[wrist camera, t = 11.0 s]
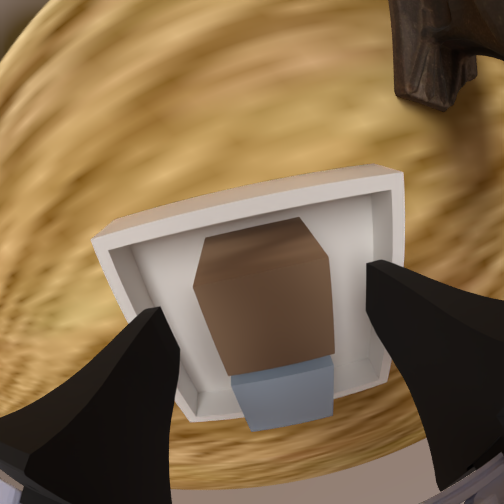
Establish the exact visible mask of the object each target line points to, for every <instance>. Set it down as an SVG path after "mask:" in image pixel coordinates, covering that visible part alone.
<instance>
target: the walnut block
mask: <svg viewBox="0 0 504 504" xmlns="http://www.w3.org/2000/svg"><path fill="white" fill-rule="evenodd" d="M193 290H194V292H195V295H196V298H197V300H198V303H199V306H200V308H201V311H202V314H203V316H204V319H205V321H206V324H207V326H208V329H209V331H210V334H211V336H212V339H213V341H214V344H215V346H216V349H217V351H218V353H219V356H220V358H221V361H222V363H223V365H224V368H225V370H226V372H227V375H228V376H233V375H239V374H245V373H251V372H257V371H262V370H267V369H272V368H277V367H282V366H286V365H291V364H295V363H300V362H304V361H308V360H312V359H316V358H320V357H324V356H328V355H331V354H335V339H334V318H333V301H332V287H331V275H330V264H329V257H328V255H327V254H326V252H325V251H324V250H323V248H322V247H321V245H320V244H319V243H318V241H317V240H316V239H315V237H314V236H313V235H312V233H311V232H310V230H309V229H308V228H307V226H306V225H305V224H304V222H303V221H302V220H301V218H300V217H295V218H291V219H286V220H281V221H277V222H272V223H268V224H263V225H258V226H254V227H249V228H245V229H241V230H236V231H232V232H227V233H223V234H219V235H214V236H210V237H206V238H205V240H204V244H203V248H202V252H201V255H200V259H199V263H198V267H197V271H196V275H195V279H194V283H193Z"/></svg>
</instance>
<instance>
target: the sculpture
mask: <svg viewBox="0 0 504 504" xmlns="http://www.w3.org/2000/svg"><path fill="white" fill-rule="evenodd" d="M388 1H389V9H390V18H391V28H392V41H393V64H394V91H395V94H396V96H399V97H401V98H404V99H407V100H411V101H414V102H417V103H420V104H423V105H426V106H429V107H431V108H434V109H437V110H440V111H442V112H445V111H446V110H447V108H449V107H450V106H452V105H453V104H454V102H455V100H456V96H457V93H458V92H459V90H460V89H461V88H462V87H463V86H464V85H465V83H466V82H467V81H471V80H473V79H475V78H476V76H477V63H476V55H483V56H489V57H494V58H497V59H500V60H503V61H504V0H388Z"/></svg>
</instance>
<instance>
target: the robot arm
mask: <svg viewBox="0 0 504 504" xmlns="http://www.w3.org/2000/svg"><path fill="white" fill-rule="evenodd" d="M365 311H366V313H367V315H368V317H369V320H370V322H371V324H372V326H373V328H374V330H375V332H376V334H377V336H378V337H379V339H380V341H381V342H382V344H383V345H384V347H385V349H386V350H387V352H388V354H389V355H390V357H391V358H392V360H393V362H394V363H395V365H396V366H397V368H398V370H399V371H400V373H401V375H402V376H403V378H404V380H405V382H406V384H407V386H408V388H409V390H410V393H411V395H412V397H413V400H414V402H415V405H416V407H417V410H418V413H419V415H420V418H421V421H422V424H423V427H424V430H425V433H426V437H427V440H428V443H429V447H430V451H431V456H432V460H433V465H434V470H435V476H436V483H437V485H438V488H439V490H440V491H443V490H444V491H443V492H441V493H439V494H437V495H435V496H433V497H431V498H430V499H428V500H426V501H424V502H422V503H419V504H460V503H462V502H464V501H465V500H466V501H465V502H464V504H504V300H498V299H493V298H489V297H484V296H481V295H477V294H474V293H470V292H466V291H463V290H460V289H457V288H454V287H452V286H449V285H446V284H443V283H441V282H438V281H436V280H433V279H431V278H428V277H426V276H423V275H421V274H418V273H416V272H414V271H411V270H409V269H406V268H404V267H402V266H399V265H397V264H394V263H391V262H389V261H386V260H382V259H381V260H377V261H373V262H369V263H366V310H365ZM179 369H180V347H179V345H178V343H177V341H176V339H175V337H174V335H173V333H172V331H171V328H170V326H169V324H168V322H167V320H166V318H165V315H164V313H163V311H162V309H161V306H159V307H153V308H147V309H144V310H143V311H142V312H141V313H140V314H138V315H137V316H136V317H135V318H134V319H133V320H132V321H131V322H130V323H129V324H128V325H127V326H126V327H125V328H124V329H123V330H122V331H121V332H120V333H119V334H118V335H117V336H116V337H115V338H114V339H113V340H112V341H111V342H110V343H109V344H108V345H107V346H106V347H105V348H104V349H103V350H102V351H101V352H99V353H98V354H97V355H96V356H95V357H94V358H93V359H92V360H91V361H90V362H89V363H88V364H87V365H86V366H84V367H83V368H82V369H81V370H80V371H78V372H77V373H76V374H75V375H73V376H72V377H71V378H70V379H68V380H67V381H66V382H64V383H63V384H61V385H60V386H59V387H57V388H56V389H54V390H53V391H51V392H50V393H48V394H47V395H45V396H44V397H42V398H40V399H39V400H37V401H35V402H33V403H31V404H30V405H28V406H26V407H24V408H22V409H20V410H18V411H15V412H13V413H11V414H8V415H6V416H3V417H1V418H0V469H1V470H2V471H4V472H5V473H6V474H8V475H9V476H10V477H12V478H13V479H14V480H16V481H17V482H19V483H20V484H22V485H23V486H24V488H23V491H21V490H19V489H17V488H16V487H14V486H13V485H11V484H9V483H8V482H6V481H4V480H3V479H1V478H0V504H172V500H171V491H170V478H169V433H170V424H171V418H172V412H173V406H174V400H175V395H176V389H177V383H178V378H179ZM475 470H476V471H475ZM474 471H475V472H474ZM472 472H473V473H472ZM471 473H472V474H471ZM469 474H470V475H469ZM468 475H469V476H468ZM466 476H467V477H466ZM465 477H466V478H465ZM463 478H464V479H463ZM461 479H463V480H461ZM460 480H461V481H460ZM458 481H460V482H458ZM456 482H458V483H456ZM455 483H456V484H455ZM453 484H455V485H453ZM452 485H453V486H452ZM450 486H451V487H450ZM448 487H450V488H448ZM447 488H448V489H447ZM445 489H446V490H445Z"/></svg>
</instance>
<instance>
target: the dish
mask: <svg viewBox="0 0 504 504" xmlns="http://www.w3.org/2000/svg"><path fill="white" fill-rule="evenodd" d="M295 217H300V218H301V220H302V221H303V222H304V224H305V225H306V226H307V228H308V229H309V230H310V232H311V233H312V235H313V236H314V237H315V239H316V240H317V241H318V243H319V244H320V245H321V247H322V248H323V250H324V251H325V252H326V254H327V255H328V257H329V264H330V275H331V287H332V301H333V318H334V339H335V354H331V355H330V356H331V359H332V361H333V364H334V396H333V399H336V398H339V397H343V396H346V395H349V394H353V393H356V392H359V391H362V390H365V389H368V388H371V387H374V386H377V385H380V384H383V383H386V382H387V379H388V375H389V370H390V366H391V361H392V358H391V357H390V355H389V354H388V352H387V350H386V349H385V347H384V345H383V344H382V342H381V341H380V339H379V337H378V336H377V334H376V332H375V330H374V328H373V326H372V324H371V322H370V320H369V317H368V315H367V313H366V311H365V310H366V263H369V262H373V261H377V260H381V259H382V260H386V261H389V262H391V263H394V264H397V265H399V266H402V267H404V246H405V198H404V177H403V172H401V171H398V170H394V169H391V168H388V167H384V166H381V165H377V164H367V165H359V166H352V167H345V168H339V169H332V170H326V171H320V172H313V173H308V174H302V175H296V176H291V177H285V178H280V179H275V180H270V181H265V182H260V183H255V184H250V185H246V186H241V187H236V188H232V189H227V190H223V191H219V192H214V193H210V194H206V195H202V196H198V197H194V198H190V199H186V200H182V201H178V202H174V203H170V204H167V205H163V206H159V207H156V208H152V209H148V210H145V211H141V212H138V213H134V214H131V215H128V216H124V217H121V218H118V219H114V220H113V221H112V222H111V223H110V224H108V225H107V226H106V227H105V228H103V229H102V230H101V231H100V232H99V233H97V234H96V235H95V236H94V237H93V238H92V239H91V242H92V245H93V247H94V250H95V252H96V255H97V257H98V260H99V262H100V264H101V267H102V269H103V271H104V274H105V276H106V278H107V281H108V283H109V285H110V287H111V289H112V291H113V294H114V296H115V298H116V300H117V302H118V304H119V306H120V308H121V310H122V312H123V314H124V316H125V318H126V320H127V322H128V324H129V323H130V322H131V321H132V320H133V319H134V318H135V317H136V316H137V315H138V314H140V313H141V312H142V311H143V310H144V309H147V308H153V307H159V306H161V309H162V311H163V313H164V315H165V318H166V320H167V322H168V324H169V326H170V328H171V331H172V333H173V335H174V337H175V339H176V341H177V343H178V345H179V347H180V369H179V378H178V383H177V389H176V395H175V402H176V403H177V405H178V406H179V407H180V409H181V410H182V412H183V413H184V414H185V416H186V417H187V419H188V420H189V421H190V422H203V421H215V420H225V419H234V418H242V417H244V414H243V412H242V410H241V408H240V405H239V403H238V401H237V399H236V396H235V394H234V392H233V389H232V387H231V376H228V375H227V372H226V370H225V368H224V365H223V363H222V361H221V358H220V356H219V353H218V351H217V349H216V346H215V344H214V341H213V339H212V336H211V334H210V331H209V329H208V326H207V324H206V321H205V319H204V316H203V314H202V311H201V308H200V306H199V303H198V300H197V298H196V295H195V292H194V290H193V283H194V279H195V275H196V271H197V267H198V263H199V259H200V255H201V252H202V248H203V244H204V240H205V238H206V237H210V236H214V235H219V234H223V233H227V232H232V231H236V230H241V229H245V228H249V227H254V226H258V225H263V224H268V223H272V222H277V221H281V220H286V219H291V218H295Z"/></svg>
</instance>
